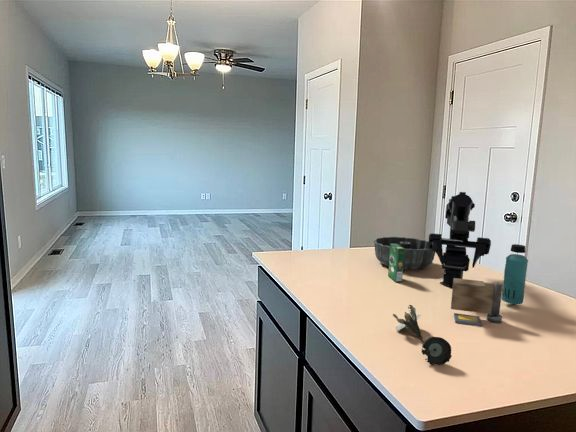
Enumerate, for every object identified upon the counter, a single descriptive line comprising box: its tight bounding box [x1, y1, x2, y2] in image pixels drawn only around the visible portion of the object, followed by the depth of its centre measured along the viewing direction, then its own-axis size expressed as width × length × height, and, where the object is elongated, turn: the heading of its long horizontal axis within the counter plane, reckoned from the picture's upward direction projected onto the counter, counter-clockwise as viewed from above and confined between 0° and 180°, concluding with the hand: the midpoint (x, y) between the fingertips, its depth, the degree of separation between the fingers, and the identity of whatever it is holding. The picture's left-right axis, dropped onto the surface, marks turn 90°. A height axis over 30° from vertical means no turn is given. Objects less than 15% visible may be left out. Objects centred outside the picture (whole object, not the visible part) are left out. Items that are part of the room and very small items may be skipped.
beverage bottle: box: [501, 243, 529, 305], centre depth 138 cm, size 6×7×20 cm
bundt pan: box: [372, 236, 436, 271], centre depth 185 cm, size 26×26×10 cm
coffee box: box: [387, 243, 405, 283], centre depth 163 cm, size 8×3×13 cm, turn 8°
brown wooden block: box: [450, 278, 503, 316], centre depth 125 cm, size 13×7×10 cm, turn 73°
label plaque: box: [453, 312, 483, 327], centre depth 126 cm, size 7×6×1 cm
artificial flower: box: [392, 304, 452, 366], centre depth 110 cm, size 9×22×10 cm, turn 0°
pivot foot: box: [485, 313, 503, 324], centre depth 127 cm, size 4×4×2 cm
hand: (457, 265), depth 137 cm, fingers open, 9 cm apart
